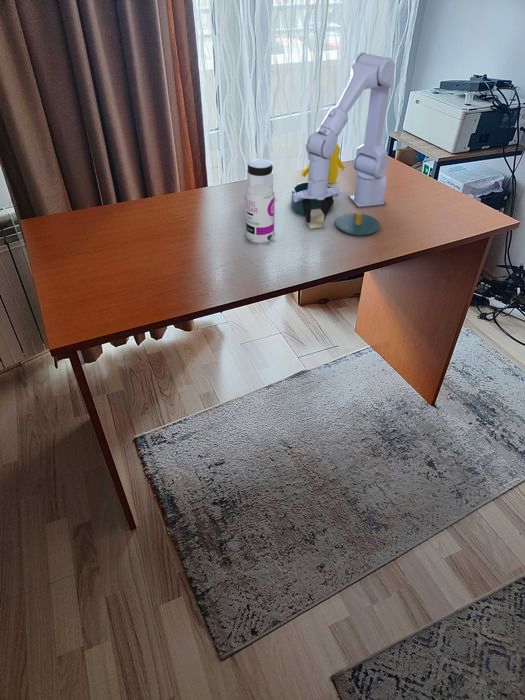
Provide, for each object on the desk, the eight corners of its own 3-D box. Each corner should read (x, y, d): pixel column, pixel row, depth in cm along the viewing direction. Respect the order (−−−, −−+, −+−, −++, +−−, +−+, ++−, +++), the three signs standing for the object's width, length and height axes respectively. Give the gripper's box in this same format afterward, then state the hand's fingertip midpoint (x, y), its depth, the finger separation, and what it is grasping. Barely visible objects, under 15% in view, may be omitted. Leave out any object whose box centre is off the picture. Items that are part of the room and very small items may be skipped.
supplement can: (277, 233, 144) (278, 185, 133) (268, 246, 138) (269, 197, 128) (252, 229, 146) (251, 181, 135) (242, 242, 140) (241, 193, 130)
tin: (323, 196, 162) (324, 179, 158) (335, 213, 153) (337, 196, 149) (287, 200, 160) (287, 183, 156) (297, 217, 151) (298, 200, 147)
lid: (353, 212, 154) (355, 199, 151) (388, 226, 147) (390, 213, 144) (326, 226, 147) (327, 212, 144) (361, 242, 140) (363, 228, 137)
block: (319, 221, 149) (320, 208, 146) (323, 227, 146) (324, 214, 143) (306, 222, 148) (307, 210, 145) (310, 229, 145) (311, 216, 142)
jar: (258, 206, 157) (258, 170, 149) (242, 198, 161) (241, 163, 153) (277, 198, 162) (278, 163, 153) (261, 191, 166) (261, 156, 158)
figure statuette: (340, 174, 177) (348, 110, 162) (351, 182, 171) (360, 117, 157) (298, 181, 172) (301, 117, 157) (307, 190, 166) (312, 124, 151)
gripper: (298, 185, 132) (295, 229, 142) (347, 180, 135) (341, 224, 144) (291, 175, 137) (289, 218, 147) (338, 171, 140) (333, 213, 149)
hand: (314, 220), depth 146 cm, fingers closed on block, 4 cm apart
